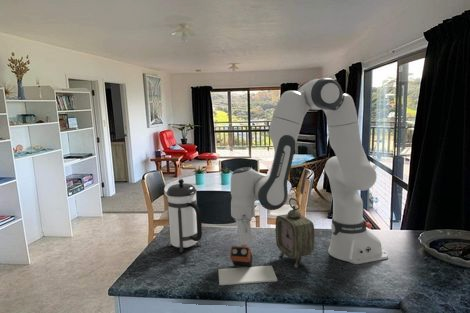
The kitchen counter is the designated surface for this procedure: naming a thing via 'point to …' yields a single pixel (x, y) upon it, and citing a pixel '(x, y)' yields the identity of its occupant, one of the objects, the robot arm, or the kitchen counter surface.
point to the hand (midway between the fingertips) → (243, 246)
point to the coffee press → (183, 216)
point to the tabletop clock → (294, 234)
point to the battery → (241, 256)
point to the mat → (246, 275)
